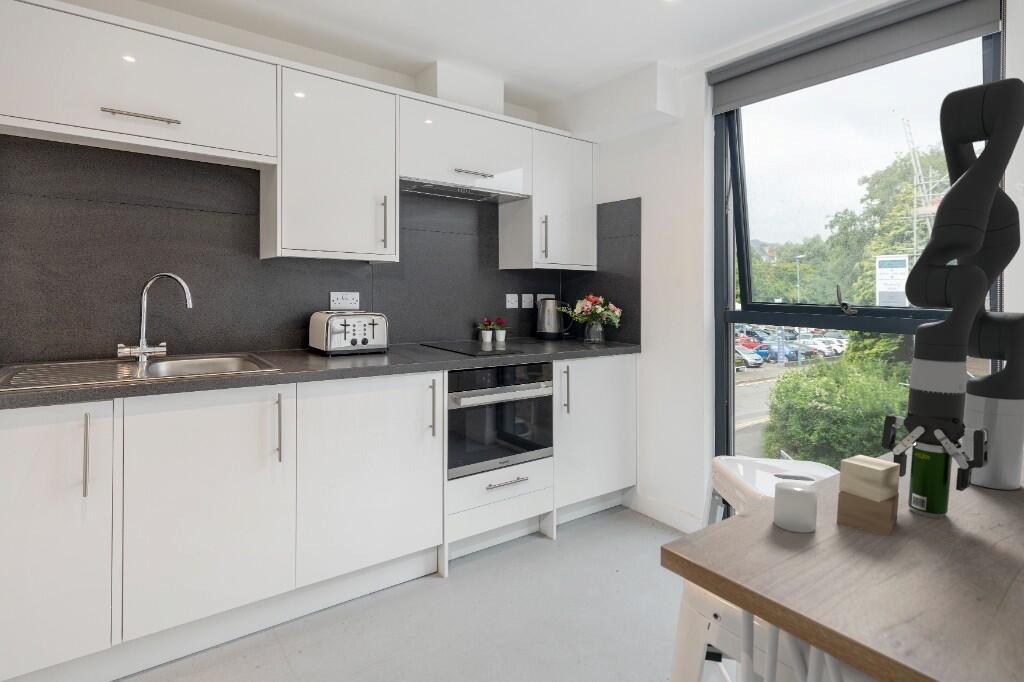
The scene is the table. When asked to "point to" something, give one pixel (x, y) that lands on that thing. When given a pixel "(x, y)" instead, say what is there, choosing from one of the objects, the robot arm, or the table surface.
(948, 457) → the guarana soda can
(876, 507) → the base block
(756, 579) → the table surface
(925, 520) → the table surface
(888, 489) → the top block
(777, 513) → the white rounded cylinder
